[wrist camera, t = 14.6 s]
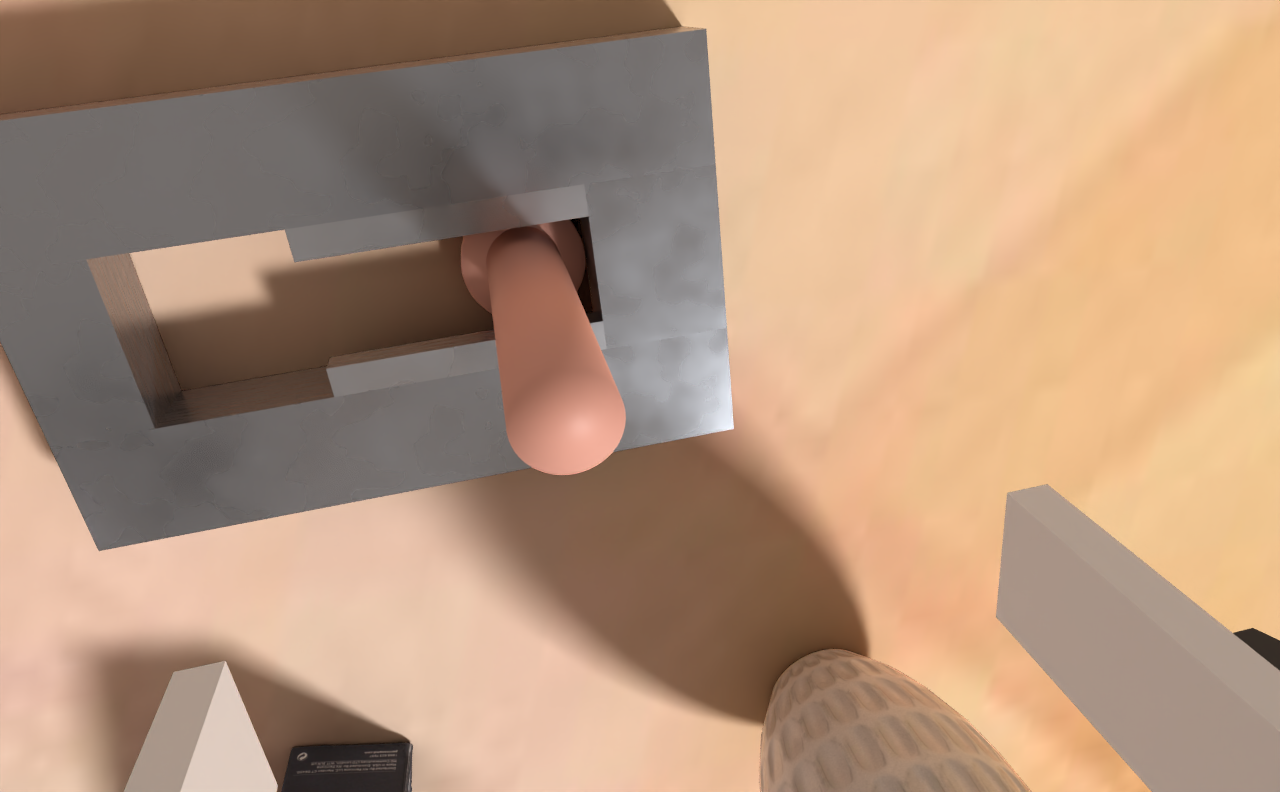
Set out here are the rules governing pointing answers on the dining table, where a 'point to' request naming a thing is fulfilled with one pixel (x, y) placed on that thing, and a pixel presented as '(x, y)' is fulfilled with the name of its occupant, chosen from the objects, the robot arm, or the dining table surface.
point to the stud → (545, 346)
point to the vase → (871, 734)
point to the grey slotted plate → (349, 223)
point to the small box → (350, 768)
